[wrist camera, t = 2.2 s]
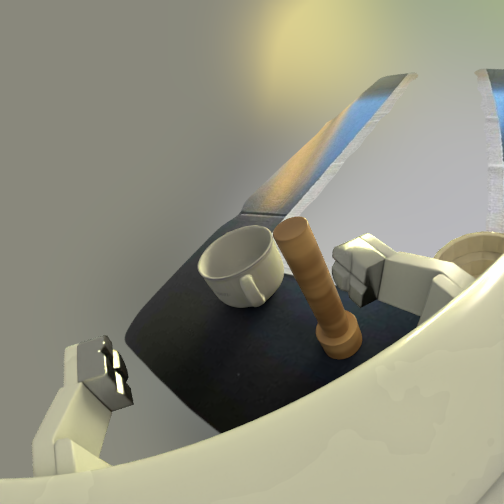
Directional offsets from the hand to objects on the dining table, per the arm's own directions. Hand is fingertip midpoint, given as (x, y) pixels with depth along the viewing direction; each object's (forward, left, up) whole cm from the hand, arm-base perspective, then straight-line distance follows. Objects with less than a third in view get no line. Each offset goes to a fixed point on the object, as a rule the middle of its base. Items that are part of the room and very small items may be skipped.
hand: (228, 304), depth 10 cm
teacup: (+25, +1, -22) cm, 34 cm away
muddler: (+11, -5, -22) cm, 25 cm away
